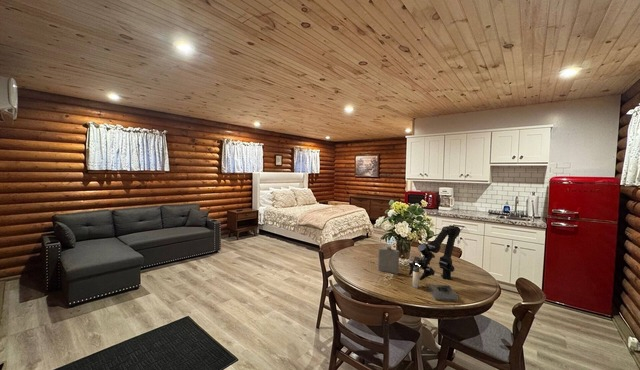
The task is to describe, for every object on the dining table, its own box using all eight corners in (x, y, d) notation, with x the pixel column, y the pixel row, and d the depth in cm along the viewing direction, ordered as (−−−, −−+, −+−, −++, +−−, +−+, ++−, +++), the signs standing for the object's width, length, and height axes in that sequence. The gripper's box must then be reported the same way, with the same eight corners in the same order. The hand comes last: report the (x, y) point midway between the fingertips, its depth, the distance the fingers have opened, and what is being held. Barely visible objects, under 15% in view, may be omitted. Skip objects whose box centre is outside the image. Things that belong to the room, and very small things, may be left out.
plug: (411, 285, 184) (412, 267, 183) (417, 285, 184) (418, 267, 183) (413, 287, 180) (413, 269, 179) (419, 288, 180) (420, 269, 179)
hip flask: (377, 270, 210) (378, 245, 209) (378, 268, 214) (379, 244, 212) (398, 274, 203) (399, 248, 202) (398, 272, 207) (399, 247, 206)
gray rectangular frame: (428, 290, 177) (429, 284, 177) (449, 291, 176) (449, 285, 175) (435, 299, 164) (435, 293, 164) (457, 301, 163) (457, 294, 162)
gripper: (410, 248, 191) (398, 266, 186) (432, 256, 174) (420, 275, 170) (417, 257, 195) (406, 275, 190) (439, 265, 179) (428, 285, 174)
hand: (414, 277), depth 181 cm, fingers open, 9 cm apart
